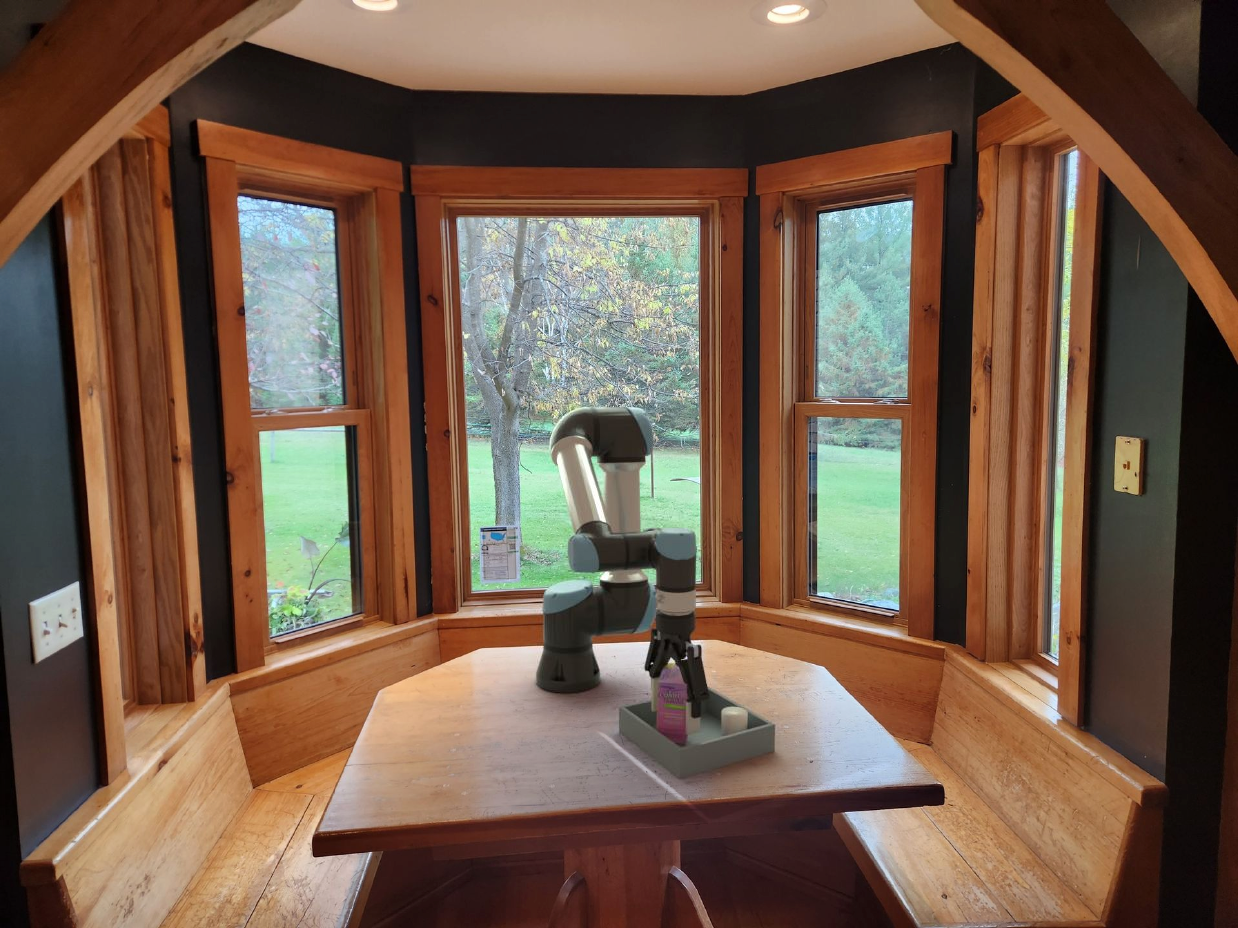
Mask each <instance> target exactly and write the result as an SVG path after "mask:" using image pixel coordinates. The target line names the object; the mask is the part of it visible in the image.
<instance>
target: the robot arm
mask: <svg viewBox="0 0 1238 928" xmlns="http://www.w3.org/2000/svg"><path fill="white" fill-rule="evenodd" d="M551 432H552V433H551V436H550V437H549V438H550V439H549V452H550V457H551V461H552V463H554V465H555V467H558V471H559V476H560V479H561V484H562V488H563V492H564V496H565V500H566V504H567V508H568V512H569V516H570V521H571V524H572V528H573V532H574V534H572V535H571V536H569V538H568V540H567V556H568V557H567V558H568V565H569V568H570V569H571V571H572V572H574V573H584V574H586V573H589V574H590V573H591V574H594V573H602V572H603V573H602V575H601V576H600V577H599V586H594V585H593V583H592V582H591V581H590V580H586V579H580V580H579V579H571V580H564V581H561V582H558V583H554V584H552V585H551V586H549V587H548V588H546V590H545V591H544V592H543V593H544V594H543V597H542V609H541V611H542V617H543V618H542V621H543V622H542V623H543V624H542V625H543V626H542V630H543V631H542V632H543V635H542V637H543V638H542V641H543V647H542V648H543V649H542V653H541V656H540V660H539V662H538V666H537V669H536V673H535V679H536V680H535V683H536V685H537V686H538V687H539V688H540V689H543V690H546V691H549V692H552V693H561V694H562V693H563V694H567V693H577V692H578V693H580V692H584V691H587V690H588V691H589V690H591V689H593V688H595V687H597V686H598V685H599V684H600V682H601V670H600V667H599V664H598V661H597V658H596V655H595V651H594V648H593V639H594V638H595V637H606V636H607V637H608V636H618V635H634V634H638V633H646V632H648V631H649V630H650V629H651V630H650V641H649V646H648V650H647V654H646V659H645V662H644V671H645V672H648V675H649V677H650V684H651V685H650V690H651V695H650V696H651V698H650V699H651V710H652V711H653V712H654V711H657V688H658V680H659V677H660V675H661V672H662V670H663V667H664V665H667V664H668V663H670V660H671V659H672V660H673V661H674V663H675V664H676V666H678V667H679V669H680V672H681V675H682V678H683V681H684V683H685V684H687V694H688V697H689V699H687V700H686V734H687V735H691V734H694V733H698V732H700V717H701V701H703V700H707V699H709V692H708V687H709V686H708V682H707V677H706V672H705V668H704V667H705V666H704V662H703V658H702V656H703V655H702V653H703V652H702V651H703V650H702V645H701V644H693V642H692V640H691V635H692V633H693V632H694V631H696V612H695V609H696V607H697V587H696V584H697V583H696V582H697V580H696V578H697V577H696V576H697V553H698V546H697V539H696V538H697V537H696V533H695V531H693V530H692V529H690V528H685V527H676V526H675V527H664V528H663V527H662V528H659V527H648V528H645V529H643V530H642V529H641V523H642V522H641V488H640V485H641V484H640V481H641V478H640V476H641V475H640V471H641V469H642V468H643V467H644V466H645V465H646V457H649V456H650V455H652V453H653V452H654V443H655V441H654V432H653V426H652V423H651V420H650V417H649V415H648V414H647V412H646V411H645V410H644V409H643V408H640V407H632V406H615V407H614V406H613V407H611V406H609V407H608V406H605V407H602V406H601V407H599V406H598V407H589V406H586V407H585V406H584V407H579V408H576V409H573V410H571V411H569V412H567V413H566V414H565V415H563V417H561V419H559V421H557V424H556V425H555V426H554V428H553V429H552V431H551ZM592 457H595V458H596V463H597V466H598V468H600V470H602V471H603V495H604V496H602V492H601V489H600V484H599V481H598V478H597V474H596V471H595V467H594V465H593V464H594V463H593V460H592ZM643 570H655V583H656V585H654V584H653V583H651V582H649V576H648V575H647V574H646V573H645V572H644V571H643ZM654 622H655V627H654V628H652V626H653V624H654ZM707 686H708V687H707ZM693 692H694V694H693Z"/></svg>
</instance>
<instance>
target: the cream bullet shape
mask: <svg viewBox="0 0 1238 928" xmlns="http://www.w3.org/2000/svg"><path fill="white" fill-rule="evenodd" d="M747 726H748V712H747V711H746V710H745V709H743V708H740V707H726V708H724V709H722V717H721V737H722V736H726V735H730V734H733V733H737V732H741V731H744V730H747Z"/></svg>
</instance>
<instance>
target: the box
mask: <svg viewBox="0 0 1238 928" xmlns="http://www.w3.org/2000/svg"><path fill="white" fill-rule="evenodd" d="M687 699H689V697H688V694H687V684H685V683H684V681H683V678H682V675H681V672H680V669H679V667H678V666H676V664H675V662H668V664H667V665H664V667H663V670H662V672H661V675H660V677H659V680H658V688H657V731H658V732H660V733H661V734H663V735H664V736H665V737H667V738H668V739H670V740H671V741H672V742H674V743H675V744H682V745H686V741H687V737H688V735H687V734H686V700H687Z"/></svg>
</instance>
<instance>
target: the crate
mask: <svg viewBox="0 0 1238 928" xmlns="http://www.w3.org/2000/svg"><path fill="white" fill-rule="evenodd" d="M707 687H708V692H709V699H707V700H703V701H701V717H700V732H698V733H694V734H691V735H688V737H687V741H686V745H682V744H675V743H674V742H672V741H671V740H670V739H668V738H667V737H665V736H664V735H663V734H661V733H660V732H658V731H657V711H654V712H653V711H652V710H651V698H650V699H647V700H642V701H639V702H634V703H630V704H625V705H621V706H618V733H619V734H620V735H623V737H625V738H626V739H627V740H629V742H631V743H632V744H634V745H635V746H636V747H637V748H639V749H640V750H641V751H642V752H644V753H646V755H647V756H649V757H650V758H651V759H652V760H654V761H655V762H657V763H658V764H660V766H662V767H663V768H665V769H666V770H667V771H669V772H670V773H671V774H672V775H673V776H674V777H676V778H677V779H679V780H682V779H685V778H689V777H693V776H696V775H699V774H701V773H705V772H709V771H713V770H716V769H719V768H724V767H726V766H729V765H732V764H736V763H740V762H742V761H746V760H749V759H752V758H756V757H759V756H763V755H767V754H770V753H772V752H775V749H776V747H775V743H776V741H775V740H776V724H775V723H773V722H772V721H770V720H768V719H765V718H764V717H763V716H761V715H759V714H757V713H755V712H753V711H752V710H750V709H748V708H747V707H745V706H744V705H741V704H739V703H738V702H736V701H734V700H732V698H729V697H728V696H725V695H723V694H722V693H720V692H718V691H717V690H714V689H713V688H712V687H709V686H708V685H707ZM693 694H694V692H693ZM726 707H740V708H743V709H745V710H746V711H747V712H748V726H747V730H744V731H741V732H737V733H733V734H730V735H726V736H722V737H721V717H722V709H724V708H726Z"/></svg>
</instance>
